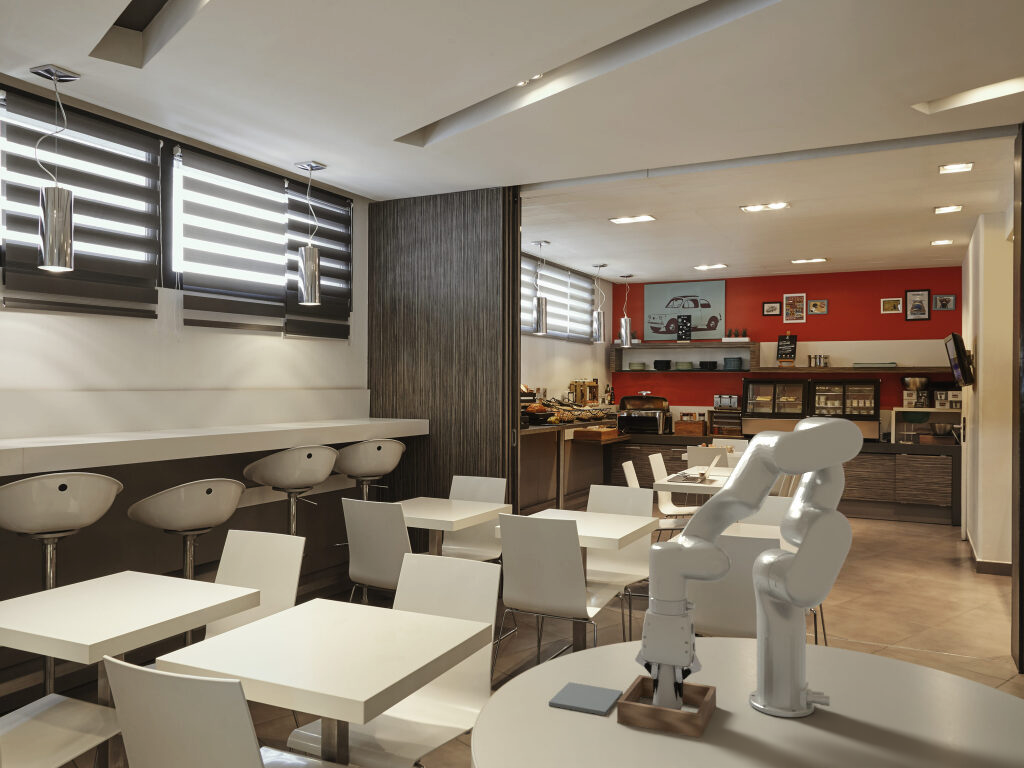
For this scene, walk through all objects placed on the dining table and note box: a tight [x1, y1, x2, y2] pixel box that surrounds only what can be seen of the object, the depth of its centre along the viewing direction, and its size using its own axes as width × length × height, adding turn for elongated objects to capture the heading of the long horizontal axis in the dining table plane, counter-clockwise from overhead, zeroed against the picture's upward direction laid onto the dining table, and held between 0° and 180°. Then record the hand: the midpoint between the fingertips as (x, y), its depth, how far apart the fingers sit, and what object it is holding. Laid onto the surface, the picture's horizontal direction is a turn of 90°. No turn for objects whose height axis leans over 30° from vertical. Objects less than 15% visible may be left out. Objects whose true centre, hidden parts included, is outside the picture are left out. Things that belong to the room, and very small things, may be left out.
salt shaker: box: [652, 664, 684, 710], centre depth 155 cm, size 6×6×13 cm
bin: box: [616, 674, 717, 739], centre depth 154 cm, size 16×16×4 cm
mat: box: [548, 681, 624, 717], centre depth 161 cm, size 12×12×1 cm
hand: (668, 698), depth 154 cm, fingers closed on salt shaker, 3 cm apart
